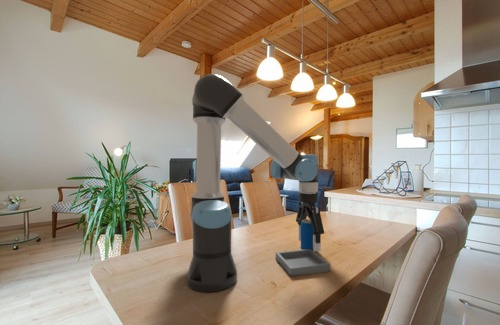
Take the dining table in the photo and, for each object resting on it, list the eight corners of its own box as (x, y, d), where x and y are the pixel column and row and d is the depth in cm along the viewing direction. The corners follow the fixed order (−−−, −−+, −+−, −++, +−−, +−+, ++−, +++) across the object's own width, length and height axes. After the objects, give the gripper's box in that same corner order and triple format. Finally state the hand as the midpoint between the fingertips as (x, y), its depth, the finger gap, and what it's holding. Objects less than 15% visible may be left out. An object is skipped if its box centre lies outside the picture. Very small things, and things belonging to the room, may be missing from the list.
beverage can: (317, 253, 94) (317, 223, 94) (300, 252, 95) (300, 222, 95) (316, 248, 100) (316, 219, 100) (300, 247, 101) (300, 218, 101)
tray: (290, 276, 75) (290, 268, 75) (275, 259, 89) (275, 252, 89) (330, 271, 78) (330, 263, 78) (310, 255, 92) (310, 248, 92)
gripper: (333, 196, 86) (334, 255, 86) (303, 188, 110) (303, 235, 110) (314, 197, 85) (315, 257, 85) (288, 189, 108) (288, 236, 108)
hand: (308, 245), depth 97 cm, fingers open, 12 cm apart
